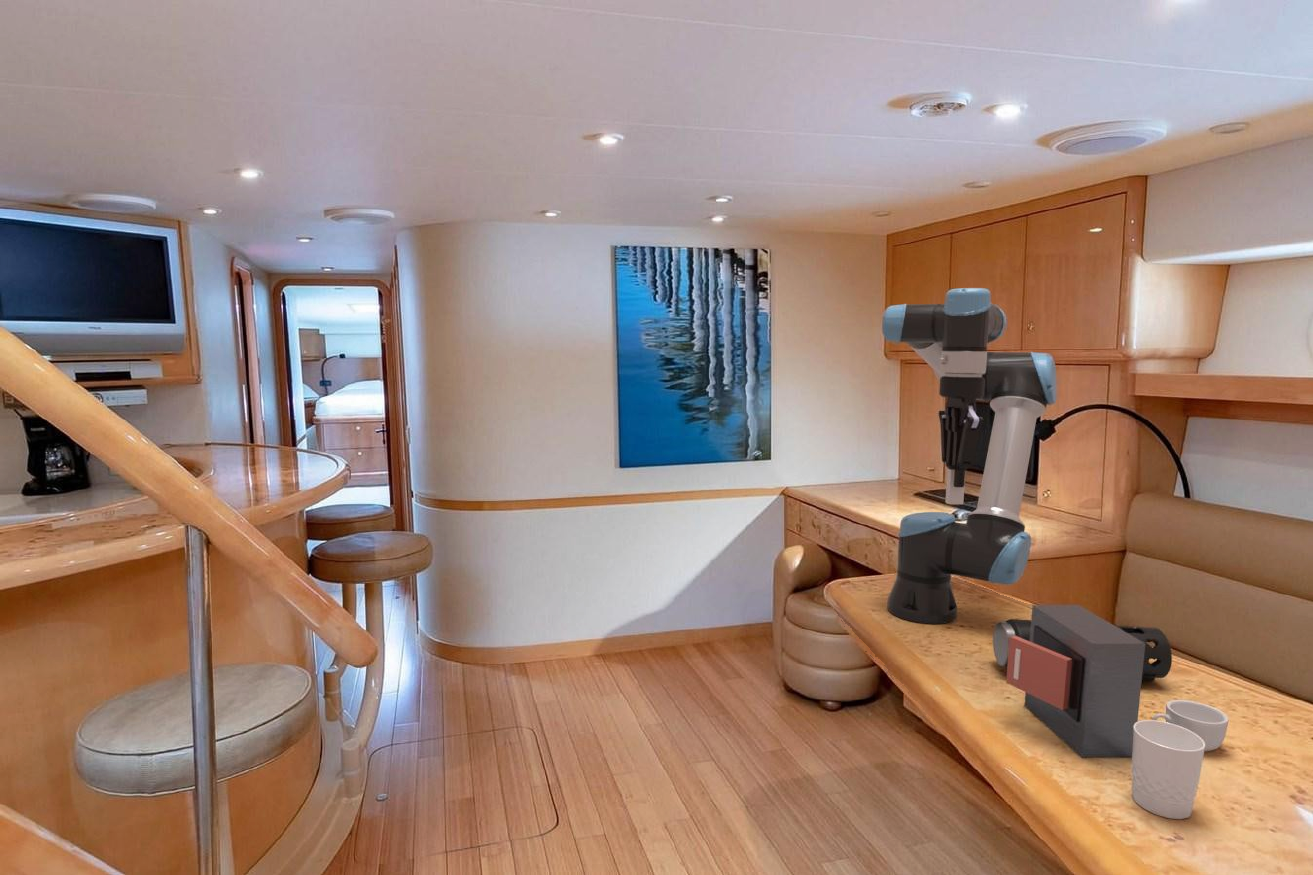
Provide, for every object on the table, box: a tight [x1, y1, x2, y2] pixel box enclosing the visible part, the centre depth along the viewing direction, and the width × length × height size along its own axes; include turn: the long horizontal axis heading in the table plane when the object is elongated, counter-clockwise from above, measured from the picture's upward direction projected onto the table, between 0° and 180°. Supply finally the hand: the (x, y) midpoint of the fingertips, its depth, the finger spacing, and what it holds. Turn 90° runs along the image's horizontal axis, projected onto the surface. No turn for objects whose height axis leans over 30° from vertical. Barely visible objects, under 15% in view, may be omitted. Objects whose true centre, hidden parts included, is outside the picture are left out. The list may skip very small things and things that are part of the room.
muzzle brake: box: [992, 618, 1173, 682], centre depth 136 cm, size 10×28×10 cm, turn 84°
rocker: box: [1005, 635, 1072, 710], centre depth 116 cm, size 10×1×8 cm, turn 26°
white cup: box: [1131, 719, 1205, 820], centre depth 98 cm, size 8×8×10 cm
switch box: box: [1023, 604, 1145, 759], centre depth 116 cm, size 16×8×18 cm, turn 2°
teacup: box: [1152, 699, 1229, 752], centre depth 114 cm, size 10×8×5 cm
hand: (954, 503), depth 135 cm, fingers closed
